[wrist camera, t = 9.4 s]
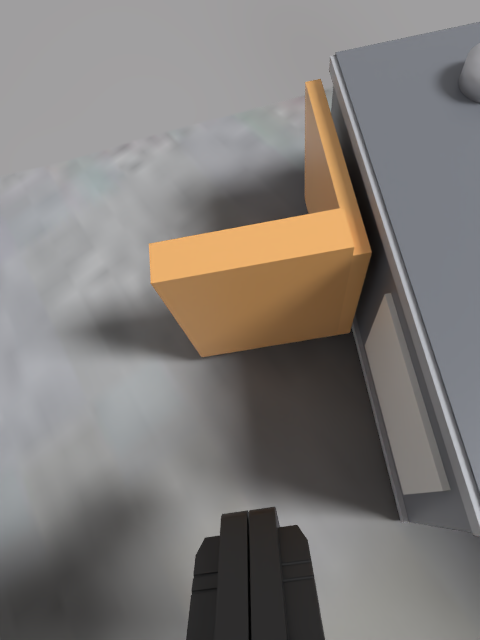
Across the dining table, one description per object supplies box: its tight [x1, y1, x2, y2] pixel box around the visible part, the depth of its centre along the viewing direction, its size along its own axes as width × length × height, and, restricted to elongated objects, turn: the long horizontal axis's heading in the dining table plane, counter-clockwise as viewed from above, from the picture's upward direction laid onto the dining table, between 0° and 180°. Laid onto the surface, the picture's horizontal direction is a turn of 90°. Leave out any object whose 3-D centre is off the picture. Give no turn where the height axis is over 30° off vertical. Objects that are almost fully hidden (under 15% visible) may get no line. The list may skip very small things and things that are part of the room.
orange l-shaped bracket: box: [149, 79, 372, 357], centre depth 18 cm, size 8×7×8 cm
